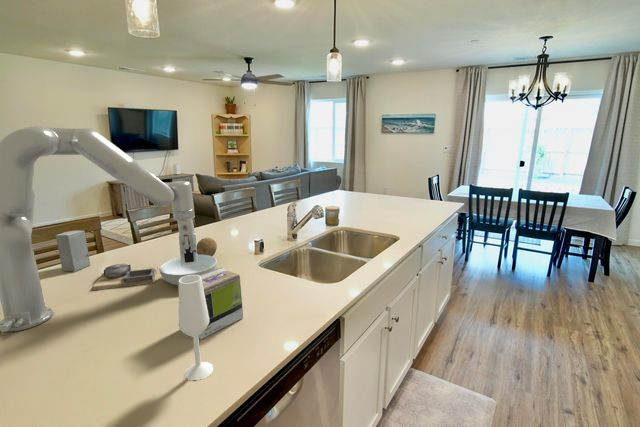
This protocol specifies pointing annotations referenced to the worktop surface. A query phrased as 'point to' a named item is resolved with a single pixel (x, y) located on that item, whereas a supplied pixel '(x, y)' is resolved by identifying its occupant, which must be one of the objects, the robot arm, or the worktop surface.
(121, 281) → the board
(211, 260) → the serving bowl
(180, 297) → the champagne flute
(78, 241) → the skincare box
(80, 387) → the worktop surface
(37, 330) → the worktop surface
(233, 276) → the tea box
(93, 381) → the worktop surface
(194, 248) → the skincare box
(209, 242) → the natural sponge
